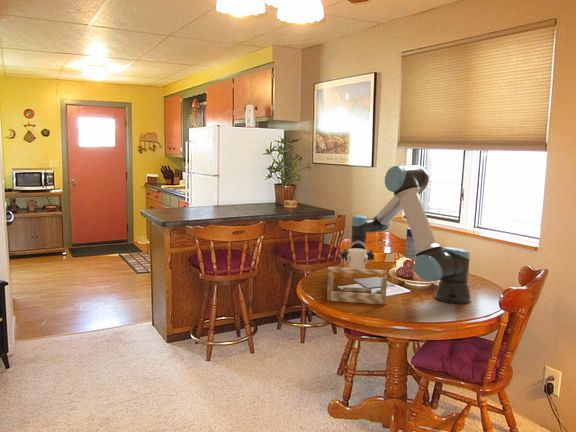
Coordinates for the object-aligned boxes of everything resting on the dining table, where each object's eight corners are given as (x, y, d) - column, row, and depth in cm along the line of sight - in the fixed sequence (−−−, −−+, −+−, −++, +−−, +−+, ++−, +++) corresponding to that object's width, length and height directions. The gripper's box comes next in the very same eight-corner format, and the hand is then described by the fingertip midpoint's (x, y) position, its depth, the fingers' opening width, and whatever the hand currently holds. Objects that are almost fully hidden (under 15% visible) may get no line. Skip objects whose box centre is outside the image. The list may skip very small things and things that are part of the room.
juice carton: (412, 267, 268) (414, 225, 264) (425, 269, 264) (427, 227, 260) (404, 272, 258) (407, 228, 254) (418, 274, 254) (420, 230, 250)
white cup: (365, 274, 214) (366, 252, 213) (347, 273, 216) (348, 251, 214) (366, 269, 222) (366, 248, 220) (349, 268, 223) (349, 247, 222)
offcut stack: (369, 297, 216) (370, 287, 215) (372, 301, 210) (372, 291, 209) (338, 297, 215) (339, 287, 214) (341, 301, 209) (341, 291, 208)
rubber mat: (394, 285, 233) (394, 284, 232) (367, 288, 227) (367, 287, 227) (378, 277, 246) (378, 276, 246) (352, 280, 241) (352, 279, 241)
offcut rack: (383, 289, 226) (385, 259, 224) (385, 304, 205) (387, 271, 203) (330, 286, 230) (331, 256, 228) (327, 300, 209) (328, 267, 207)
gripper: (378, 258, 236) (380, 269, 214) (337, 256, 239) (334, 267, 217) (379, 243, 235) (380, 253, 212) (337, 241, 238) (334, 251, 216)
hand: (357, 260), depth 215 cm, fingers closed on white cup, 8 cm apart
